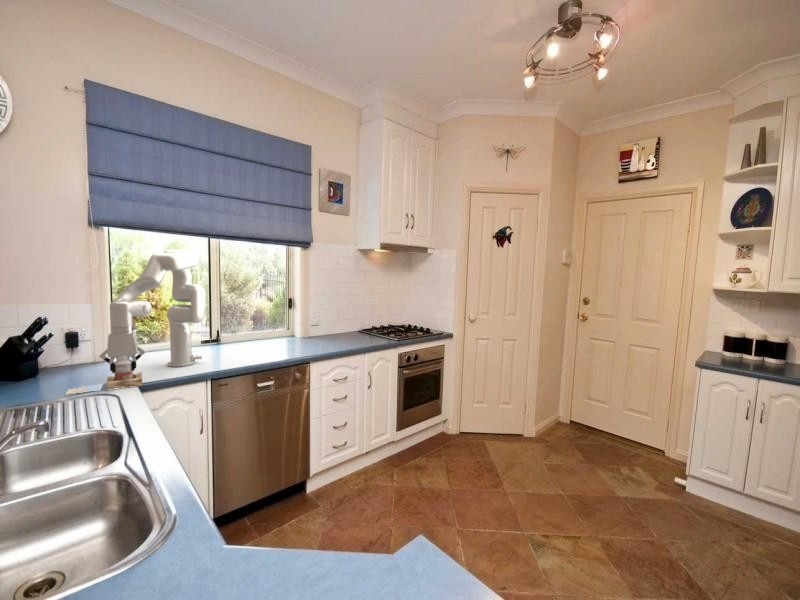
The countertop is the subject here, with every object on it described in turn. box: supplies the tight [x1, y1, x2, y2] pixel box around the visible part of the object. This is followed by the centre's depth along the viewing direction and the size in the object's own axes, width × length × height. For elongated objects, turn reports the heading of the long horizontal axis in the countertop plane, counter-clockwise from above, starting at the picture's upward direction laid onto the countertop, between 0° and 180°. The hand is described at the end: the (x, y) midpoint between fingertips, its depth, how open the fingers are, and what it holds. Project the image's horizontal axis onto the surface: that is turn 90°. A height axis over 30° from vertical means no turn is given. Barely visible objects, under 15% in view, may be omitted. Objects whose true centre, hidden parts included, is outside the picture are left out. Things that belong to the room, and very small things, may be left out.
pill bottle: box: [114, 356, 134, 381], centre depth 156 cm, size 6×6×11 cm
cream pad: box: [64, 386, 89, 396], centre depth 149 cm, size 11×11×1 cm
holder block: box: [105, 372, 143, 390], centre depth 156 cm, size 12×12×3 cm
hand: (123, 371), depth 156 cm, fingers closed on pill bottle, 6 cm apart
